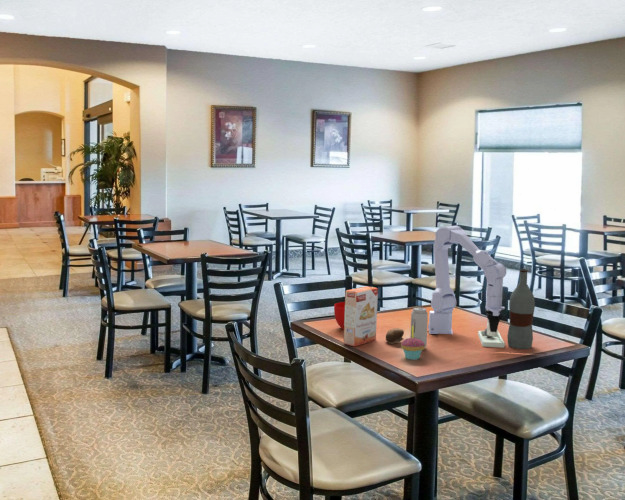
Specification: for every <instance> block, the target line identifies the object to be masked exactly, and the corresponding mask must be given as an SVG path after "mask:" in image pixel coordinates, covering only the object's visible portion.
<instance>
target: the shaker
mask: <svg viewBox="0 0 625 500" xmlns="http://www.w3.org/2000/svg"><path fill="white" fill-rule="evenodd" d="M486 328H487V335H488V336H497V335H498V332H499V328H497V331H496V332H491V331H490V325H489V319H488V318H487V320H486Z"/></svg>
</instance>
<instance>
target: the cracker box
mask: <svg viewBox="0 0 625 500" xmlns="http://www.w3.org/2000/svg"><path fill="white" fill-rule="evenodd" d="M344 293H345V294H344V295H345V296H344V302H345V319H344V330H343V344H344V345H348V346H351V347H357V346H361V345H364V344H366V343H367V344H368V343H370V342H374V341H376V340H377V320H378V319H377V318H378V299H379V288H377V287H374V286H369V285H368V286H367V285H366V286H363V287H357V288H352V289H347V290H345V292H344Z"/></svg>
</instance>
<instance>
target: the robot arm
mask: <svg viewBox="0 0 625 500" xmlns="http://www.w3.org/2000/svg"><path fill="white" fill-rule="evenodd" d="M434 232H435V239H434V242H433V258H434V271H435V289H434V291H433V292H432V295H431V296H432V297H431V302H430V306H431V309H432V310H429V313H428V314H429V315H428V323H427V330H428V334H429V335H439V334H444V335H453V334H454V333H453V327H452V326H453V311H454V309H455V307H456V306H457V298H456V296H455V291H454V290H453V289H452V288H451V282H450V268H449V251H448V249H449V248H451V247H452V246H453V244H458V245H460V246H461V247H462V249H463V248H464V250H466V251H467V252H468V253H469V254H470V255H472V258H473V259H472V260H473V261H474V262H475V264H476V265H477V266H478V267H479V268H480V269H481V270H482V271H483V272H484V277H485V278H486V302H485V310H484V313H485V314H486V317H487V320H488V319H489V325H490V331H491V332H496V331H497V328H498V327H499V324H500V321H501V320H502V318H503V314H501V311H502V310H505V309H506V308H505V306H502V305H503V303H502V302H503V289H504V288H503V285H504V278H505V276H506V275H507V268H506V267H505V265H504V264H503V263H501V262H498V260H496V259H494V258H493V257H492V256H491V255H490V254H489V253H490V252H489V251H487V250H484V249H481V250H480V249H479V248H478V247H477V245H476V244H475V243H474V242H473V241H472V239H470V237H469V236H468V235H467V233H466V231H465V230H464V229H463V228H462V227H461V226H460V225H456V224H455V225H451V226H449V225H448V226H447V225H446V226H443V225H442V226H440V227H439V228H438V229H437V230H436V231H434ZM498 329H499V328H498Z"/></svg>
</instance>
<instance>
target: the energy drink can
mask: <svg viewBox="0 0 625 500" xmlns="http://www.w3.org/2000/svg"><path fill="white" fill-rule="evenodd" d="M428 314H429V313H428V311H427V308H424V307H414V308H412V310H411V314H410V337H409V338H412V323H413V326H414V338H417V339H420V340H422V341H423V342H424V343H425V348H426V347H427V344H428V343H427V342H428V340H427V339H428V321H429V315H428Z"/></svg>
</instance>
